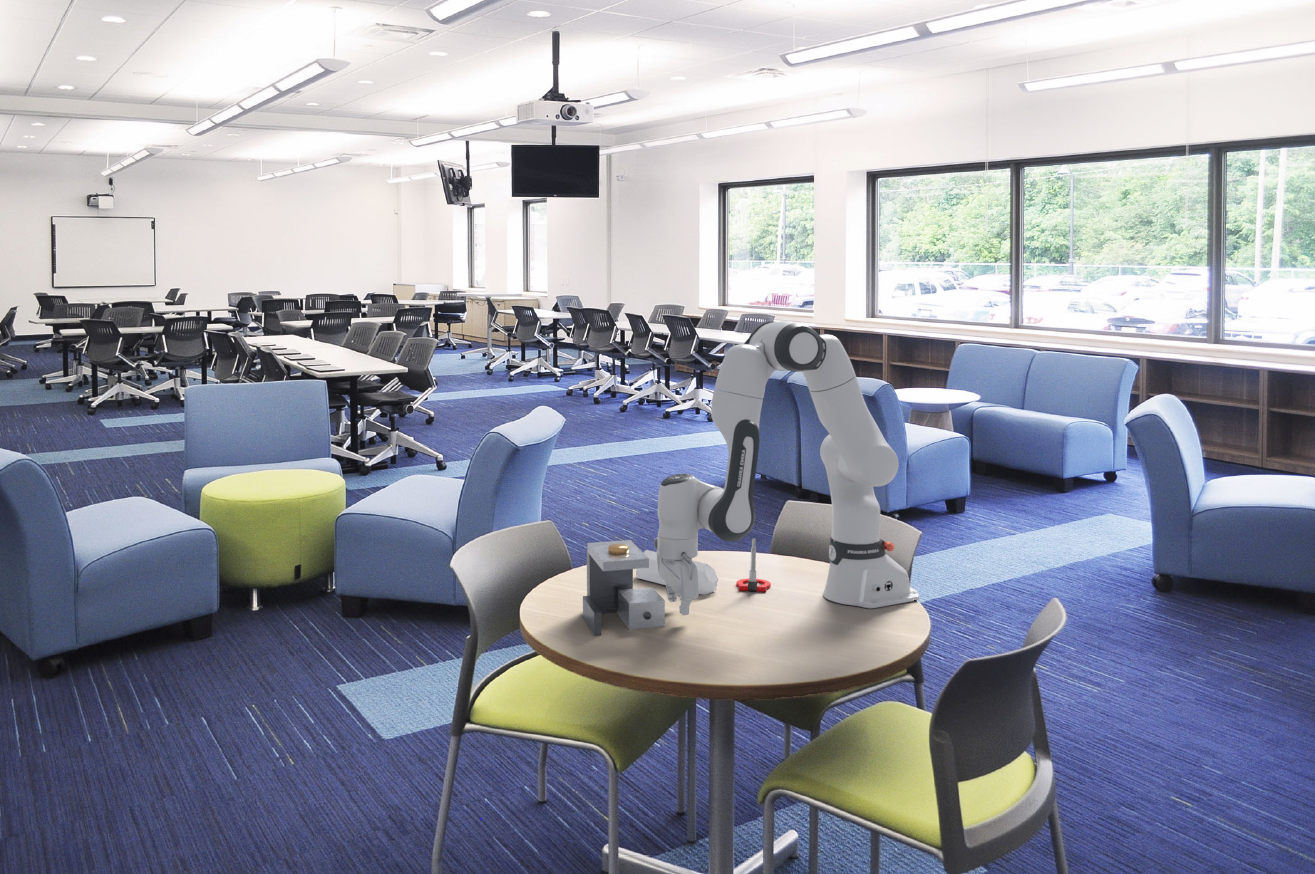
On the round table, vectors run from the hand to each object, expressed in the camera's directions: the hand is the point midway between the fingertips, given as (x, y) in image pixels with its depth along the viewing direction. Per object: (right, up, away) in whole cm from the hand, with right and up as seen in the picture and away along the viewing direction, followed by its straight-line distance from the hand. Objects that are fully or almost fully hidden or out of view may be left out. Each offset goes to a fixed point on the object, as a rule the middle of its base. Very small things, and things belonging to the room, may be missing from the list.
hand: (678, 607), depth 237 cm
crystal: (0, +1, +25) cm, 25 cm away
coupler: (-14, -3, -2) cm, 15 cm away
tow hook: (+19, +1, +23) cm, 30 cm away
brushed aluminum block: (-8, -3, -2) cm, 9 cm away
